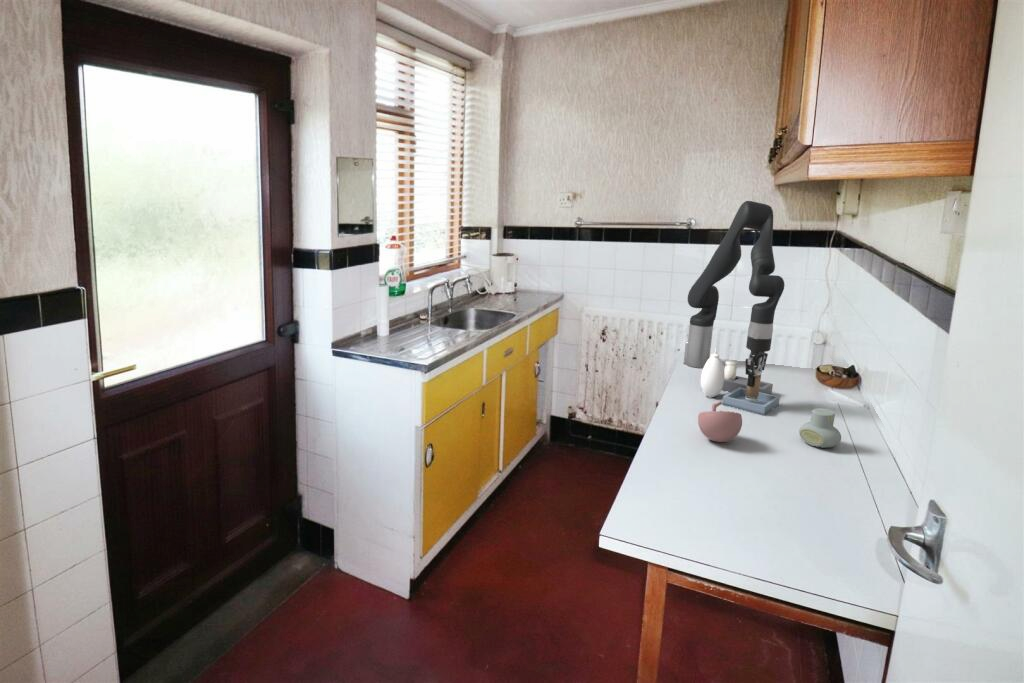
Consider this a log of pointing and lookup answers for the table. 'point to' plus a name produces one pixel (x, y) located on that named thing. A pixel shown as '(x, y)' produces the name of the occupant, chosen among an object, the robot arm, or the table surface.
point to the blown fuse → (754, 389)
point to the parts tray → (758, 407)
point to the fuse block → (745, 385)
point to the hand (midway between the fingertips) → (753, 384)
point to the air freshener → (820, 429)
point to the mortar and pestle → (719, 424)
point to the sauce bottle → (712, 376)
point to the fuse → (730, 370)
